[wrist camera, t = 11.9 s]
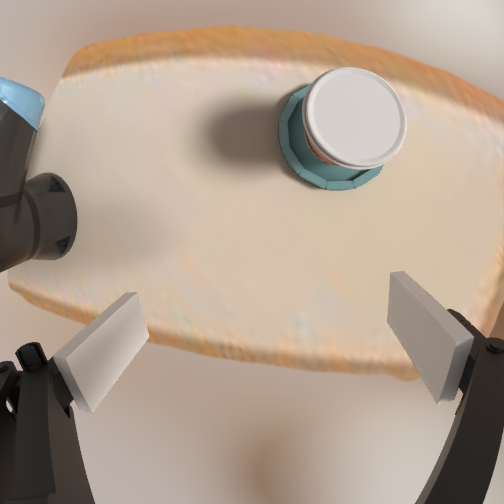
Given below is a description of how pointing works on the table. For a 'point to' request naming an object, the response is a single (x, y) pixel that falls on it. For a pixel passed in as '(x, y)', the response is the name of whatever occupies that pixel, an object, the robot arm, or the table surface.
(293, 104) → the saucer
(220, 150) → the table surface
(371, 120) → the coffee cup
